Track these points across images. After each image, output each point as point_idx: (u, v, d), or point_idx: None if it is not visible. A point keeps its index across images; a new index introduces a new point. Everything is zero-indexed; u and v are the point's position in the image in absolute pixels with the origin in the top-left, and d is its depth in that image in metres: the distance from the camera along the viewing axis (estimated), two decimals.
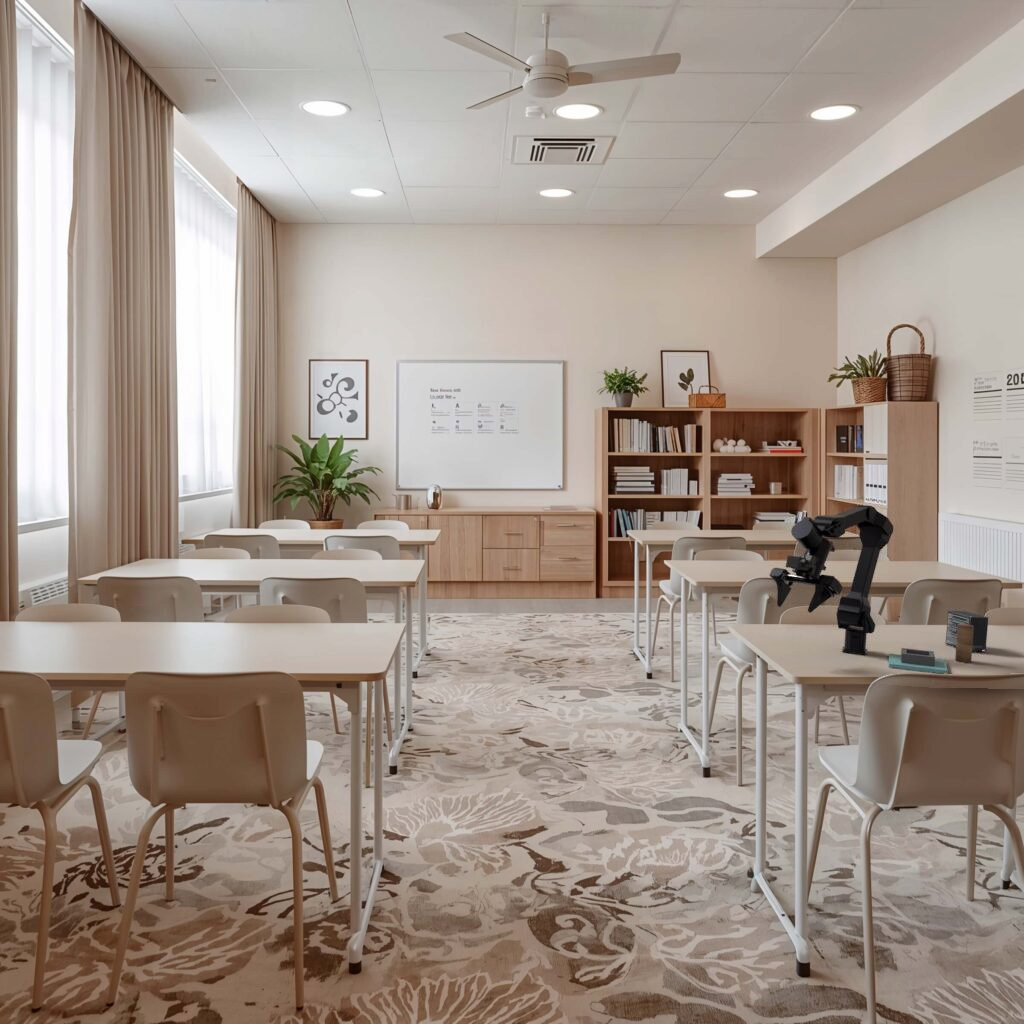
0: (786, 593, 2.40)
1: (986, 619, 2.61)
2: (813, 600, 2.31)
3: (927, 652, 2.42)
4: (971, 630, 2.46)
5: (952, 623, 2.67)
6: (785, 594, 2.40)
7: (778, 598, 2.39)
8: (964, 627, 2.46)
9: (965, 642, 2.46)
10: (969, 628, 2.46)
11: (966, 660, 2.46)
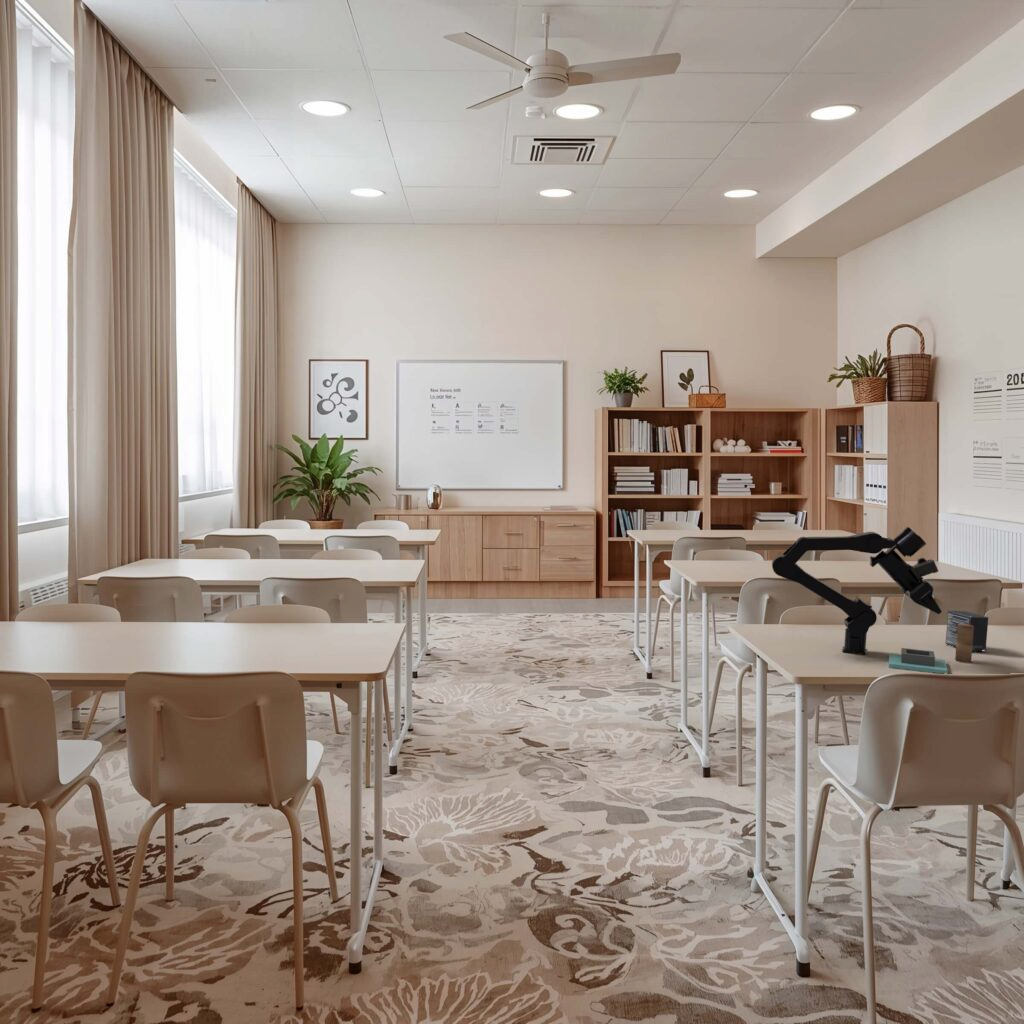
0: None
1: (986, 619, 2.61)
2: None
3: (927, 652, 2.42)
4: (971, 630, 2.46)
5: (952, 623, 2.67)
6: None
7: (938, 606, 2.44)
8: (964, 627, 2.46)
9: (965, 642, 2.46)
10: (969, 628, 2.46)
11: (966, 660, 2.46)
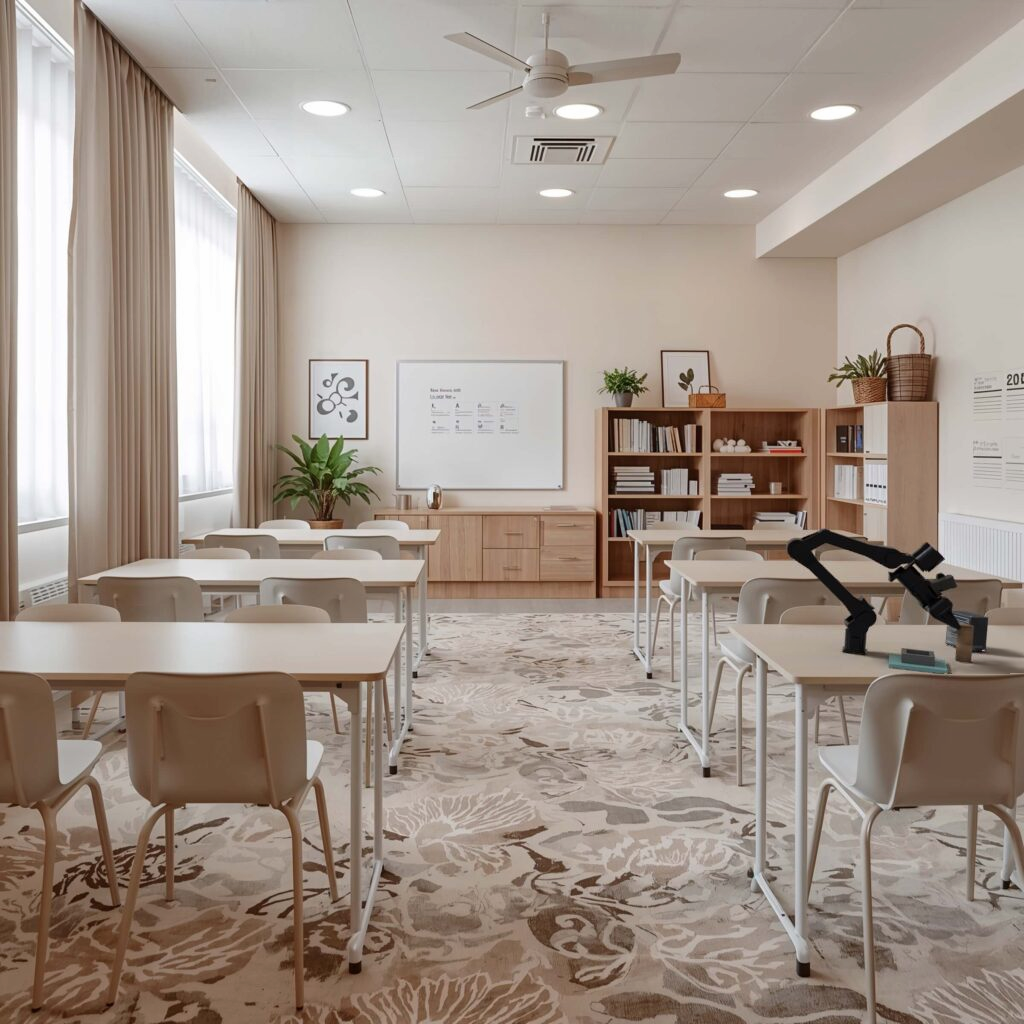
0: None
1: (986, 619, 2.61)
2: None
3: (927, 652, 2.42)
4: (971, 630, 2.46)
5: None
6: None
7: (957, 621, 2.43)
8: (964, 627, 2.46)
9: (965, 642, 2.46)
10: (969, 628, 2.46)
11: (966, 660, 2.46)
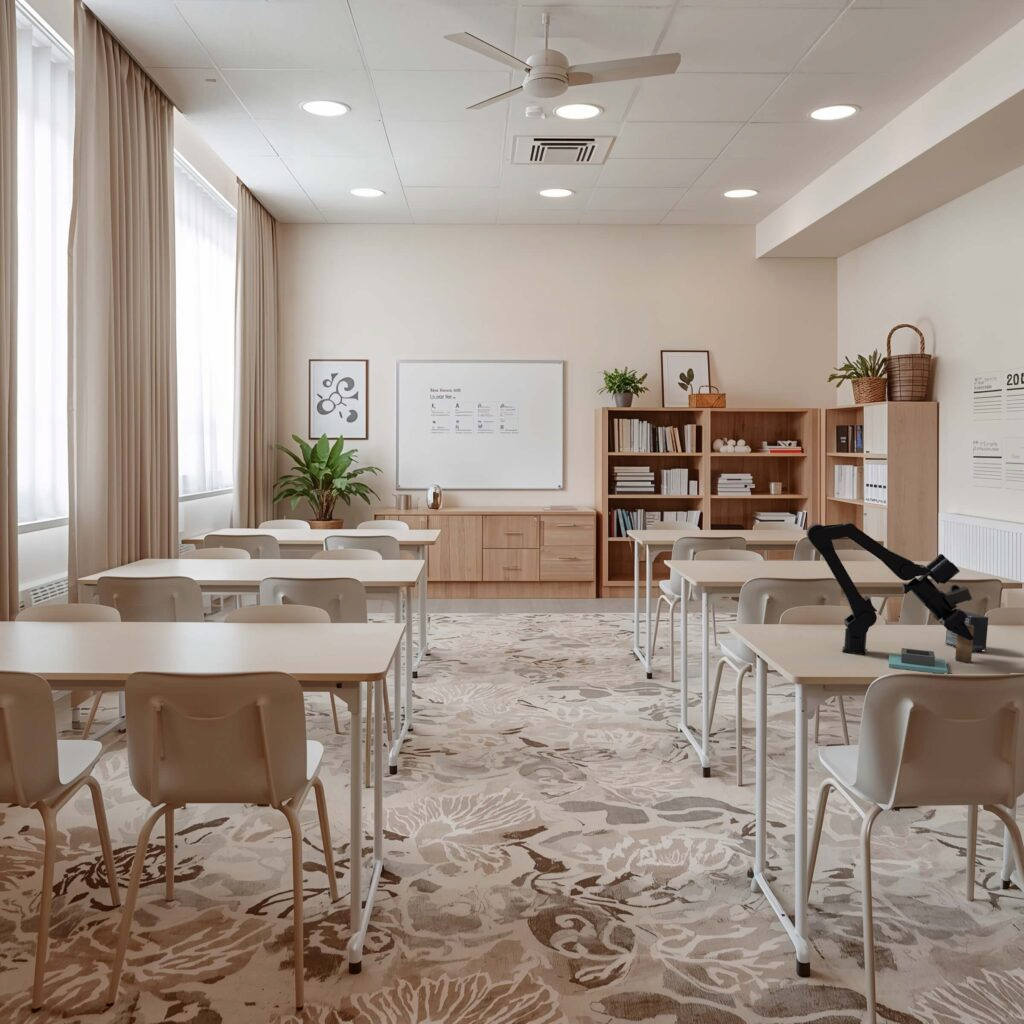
0: None
1: (986, 619, 2.61)
2: None
3: (927, 652, 2.42)
4: (971, 630, 2.46)
5: None
6: None
7: None
8: None
9: (965, 642, 2.46)
10: (969, 628, 2.46)
11: (966, 660, 2.46)
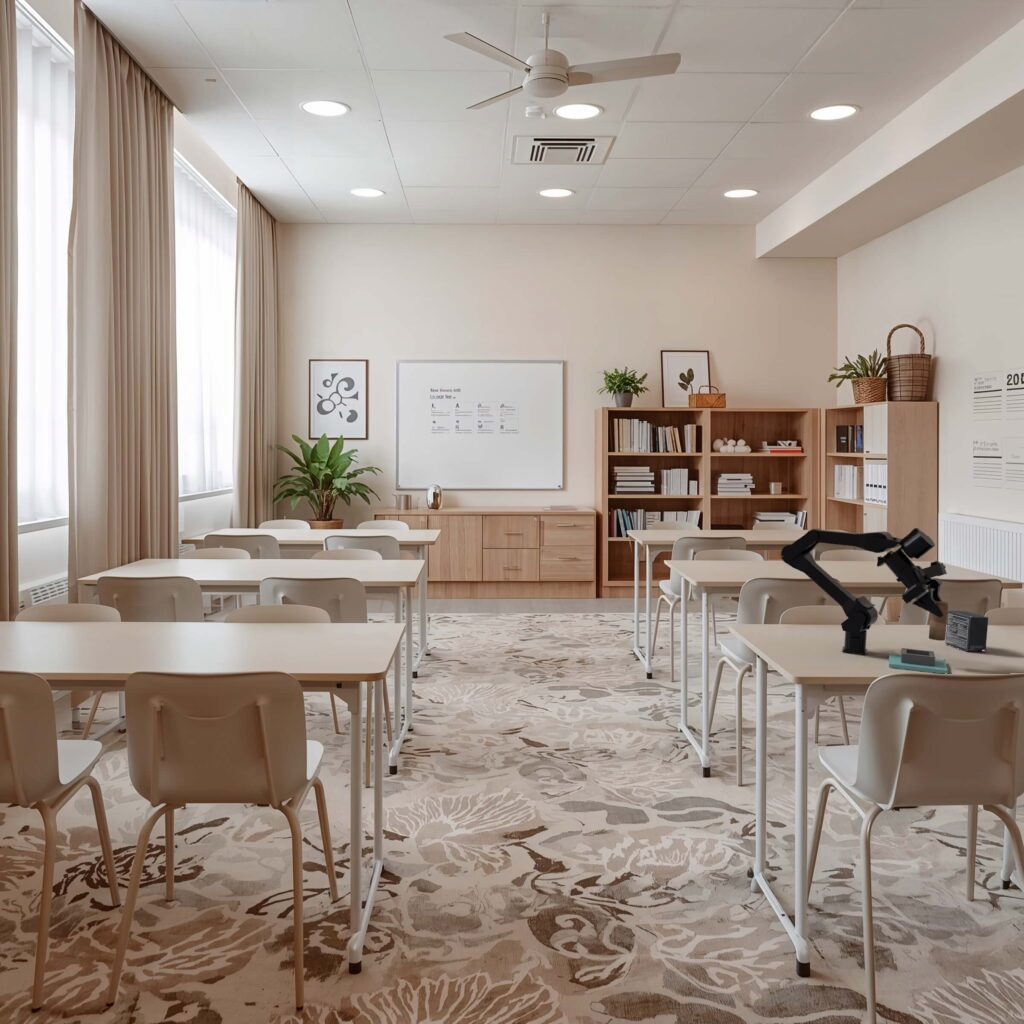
0: None
1: (986, 619, 2.61)
2: None
3: (927, 652, 2.42)
4: (942, 607, 2.39)
5: (952, 623, 2.67)
6: None
7: (939, 609, 2.38)
8: None
9: (935, 619, 2.39)
10: (940, 605, 2.39)
11: (936, 637, 2.40)
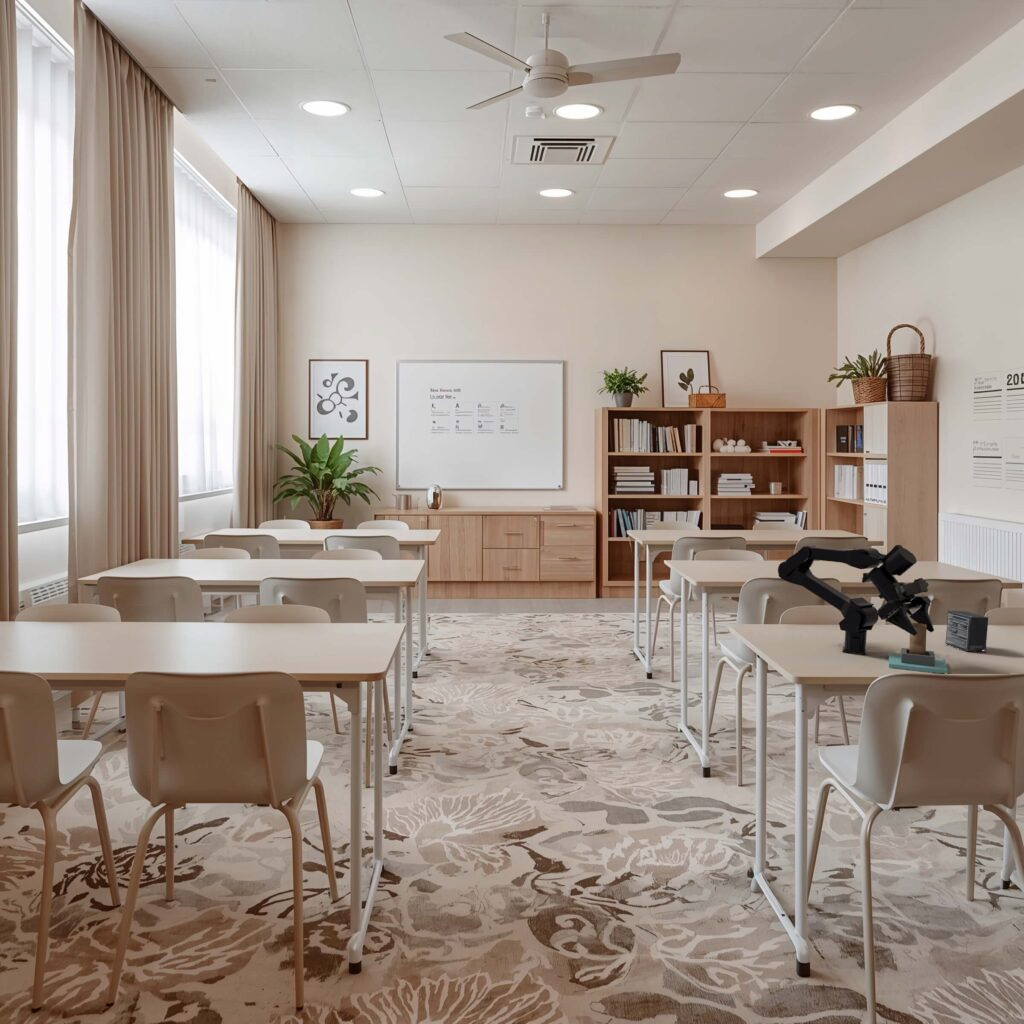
0: None
1: (986, 619, 2.61)
2: (929, 620, 2.43)
3: (927, 652, 2.42)
4: (919, 629, 2.39)
5: (952, 623, 2.67)
6: None
7: (913, 627, 2.37)
8: None
9: (913, 641, 2.40)
10: (916, 627, 2.39)
11: None
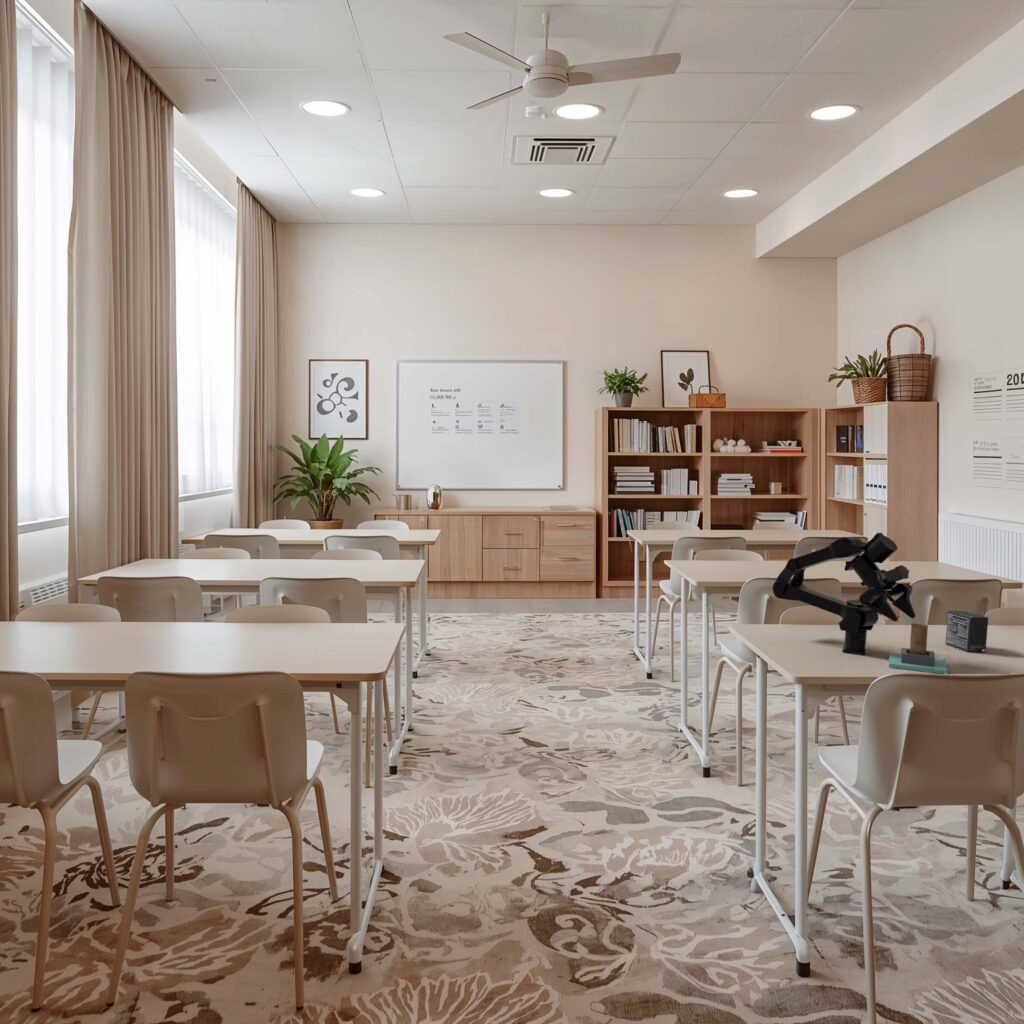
0: None
1: (986, 619, 2.61)
2: (911, 606, 2.47)
3: (927, 652, 2.42)
4: (920, 629, 2.38)
5: (952, 623, 2.67)
6: None
7: (893, 613, 2.41)
8: (913, 626, 2.40)
9: (914, 641, 2.39)
10: (918, 627, 2.39)
11: None
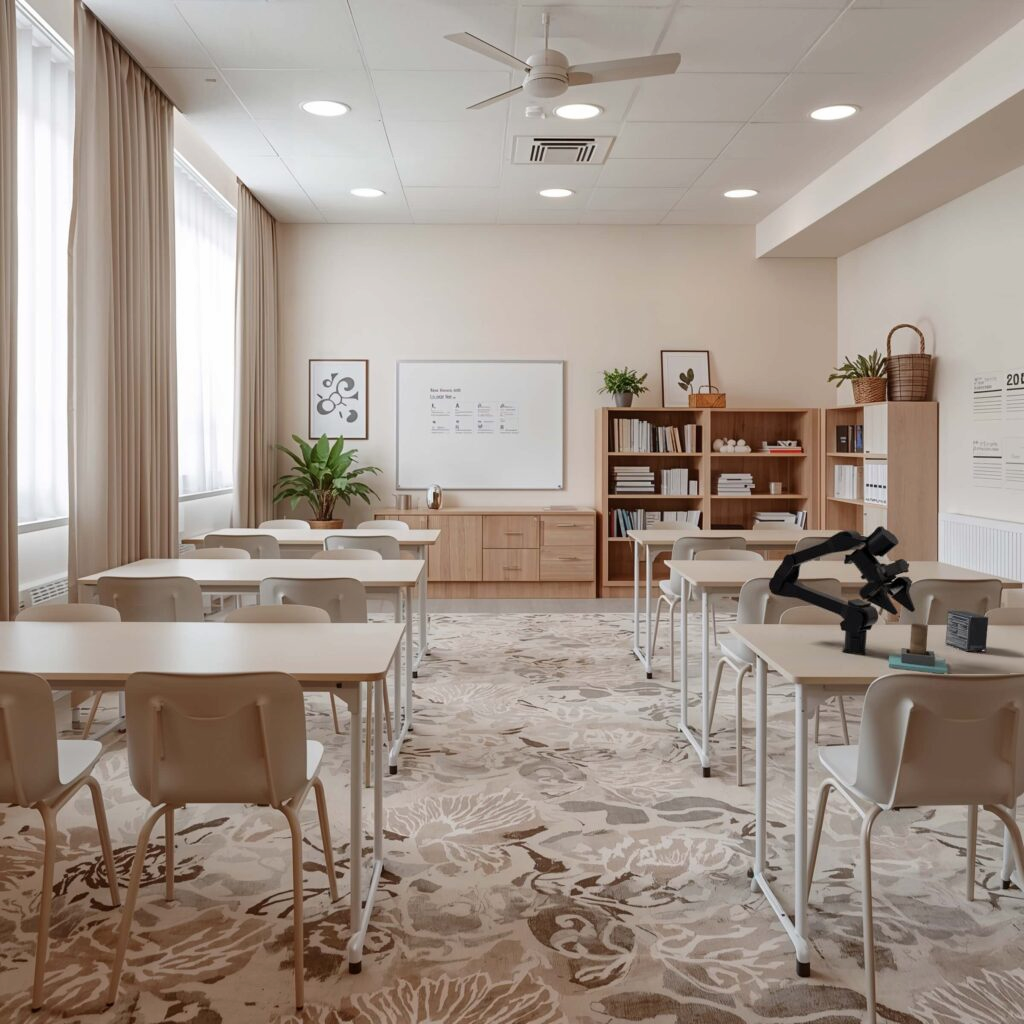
0: None
1: (986, 619, 2.61)
2: (910, 600, 2.48)
3: (927, 652, 2.42)
4: (920, 629, 2.38)
5: (952, 623, 2.67)
6: None
7: (893, 606, 2.41)
8: (913, 626, 2.40)
9: (914, 641, 2.39)
10: (918, 627, 2.39)
11: None
